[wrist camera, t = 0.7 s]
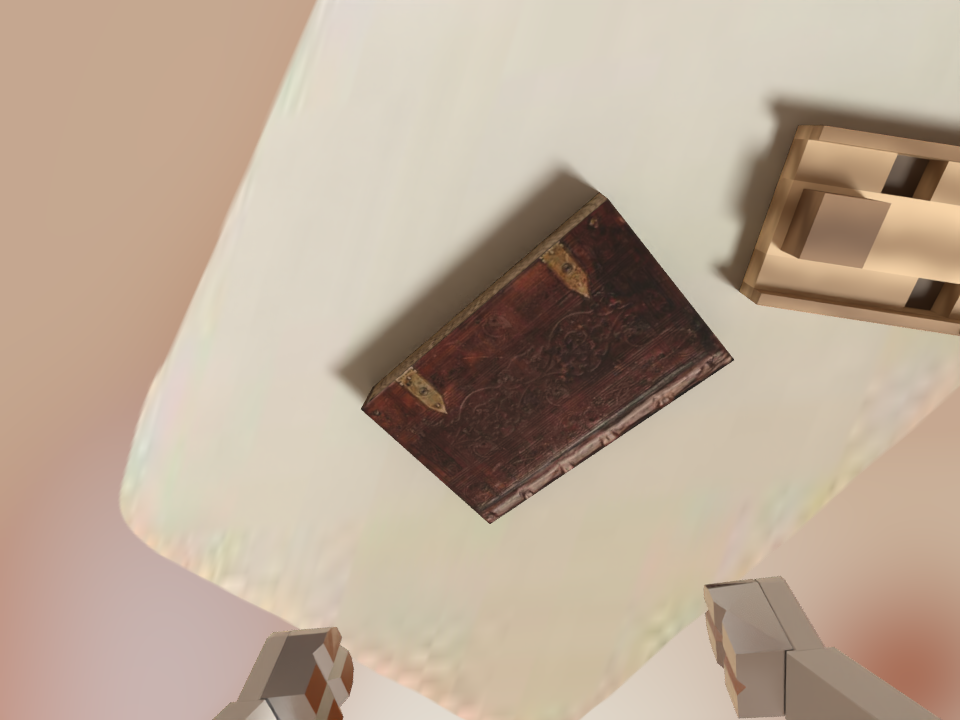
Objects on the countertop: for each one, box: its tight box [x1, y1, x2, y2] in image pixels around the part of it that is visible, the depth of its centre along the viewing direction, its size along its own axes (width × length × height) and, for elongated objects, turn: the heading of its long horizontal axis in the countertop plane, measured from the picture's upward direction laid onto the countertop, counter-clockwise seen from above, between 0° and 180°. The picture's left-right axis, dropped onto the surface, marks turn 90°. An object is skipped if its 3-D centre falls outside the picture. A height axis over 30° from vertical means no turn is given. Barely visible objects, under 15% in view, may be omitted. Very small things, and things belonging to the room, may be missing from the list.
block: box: [781, 189, 891, 269], centre depth 42 cm, size 5×5×3 cm
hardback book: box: [361, 192, 734, 524], centre depth 51 cm, size 29×19×5 cm, turn 132°
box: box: [739, 125, 960, 336], centre depth 43 cm, size 14×22×5 cm, turn 82°
